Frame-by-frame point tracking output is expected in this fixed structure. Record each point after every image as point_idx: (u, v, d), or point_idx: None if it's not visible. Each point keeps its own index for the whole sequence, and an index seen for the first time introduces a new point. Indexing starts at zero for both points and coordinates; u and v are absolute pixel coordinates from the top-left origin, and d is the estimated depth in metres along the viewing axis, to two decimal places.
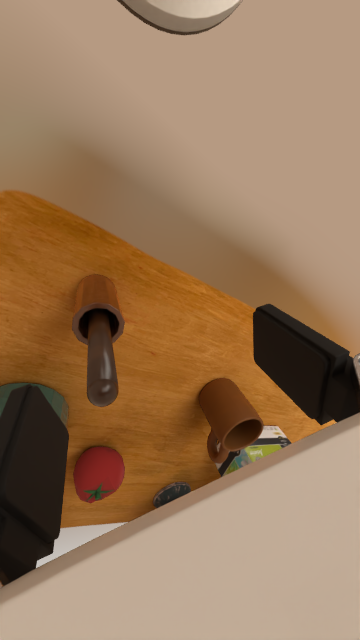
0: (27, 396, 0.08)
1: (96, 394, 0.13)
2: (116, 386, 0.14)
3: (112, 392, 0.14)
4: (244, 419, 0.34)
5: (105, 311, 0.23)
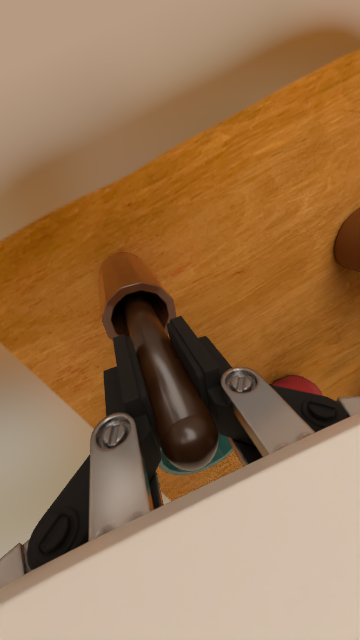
0: (128, 341, 0.10)
1: (179, 461, 0.07)
2: (199, 421, 0.07)
3: (200, 440, 0.06)
4: None
5: (134, 294, 0.15)
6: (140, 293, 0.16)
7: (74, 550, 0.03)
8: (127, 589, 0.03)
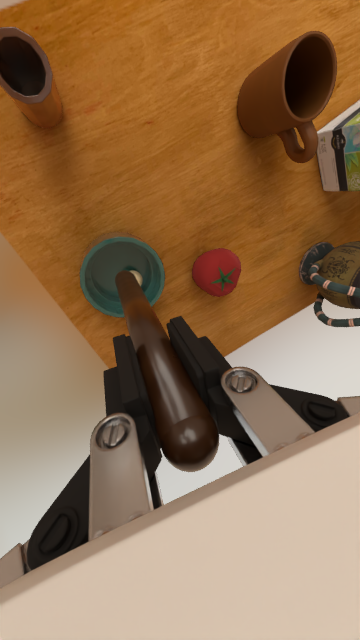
0: (128, 341, 0.10)
1: (180, 462, 0.07)
2: (199, 422, 0.07)
3: (200, 441, 0.06)
4: (290, 51, 0.24)
5: (134, 294, 0.15)
6: (140, 293, 0.16)
7: (74, 550, 0.03)
8: (127, 589, 0.03)
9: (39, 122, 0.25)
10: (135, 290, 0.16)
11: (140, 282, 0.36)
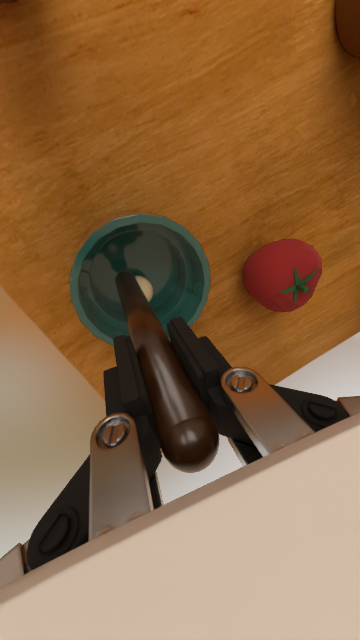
0: (128, 341, 0.10)
1: (180, 462, 0.07)
2: (203, 423, 0.07)
3: (203, 442, 0.06)
4: None
5: (136, 295, 0.15)
6: (142, 294, 0.16)
7: (74, 550, 0.03)
8: (127, 589, 0.03)
9: None
10: (137, 291, 0.16)
11: None
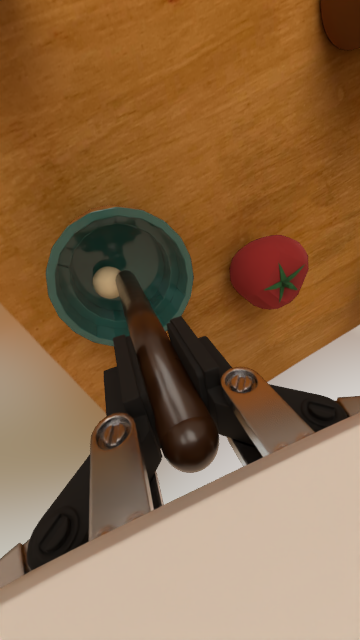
0: (128, 341, 0.10)
1: (180, 462, 0.07)
2: (202, 423, 0.07)
3: (202, 442, 0.06)
4: None
5: (136, 294, 0.15)
6: (142, 294, 0.16)
7: (74, 550, 0.03)
8: (127, 589, 0.03)
9: None
10: (137, 290, 0.16)
11: (97, 278, 0.21)
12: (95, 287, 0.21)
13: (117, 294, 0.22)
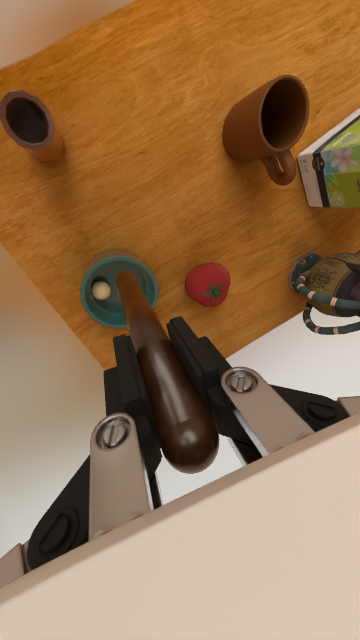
0: (128, 341, 0.10)
1: (180, 463, 0.07)
2: (202, 424, 0.07)
3: (203, 443, 0.07)
4: (264, 93, 0.27)
5: (136, 295, 0.15)
6: (142, 295, 0.16)
7: (74, 550, 0.03)
8: (127, 589, 0.03)
9: (43, 159, 0.28)
10: (137, 291, 0.16)
11: None
12: None
13: (95, 295, 0.37)
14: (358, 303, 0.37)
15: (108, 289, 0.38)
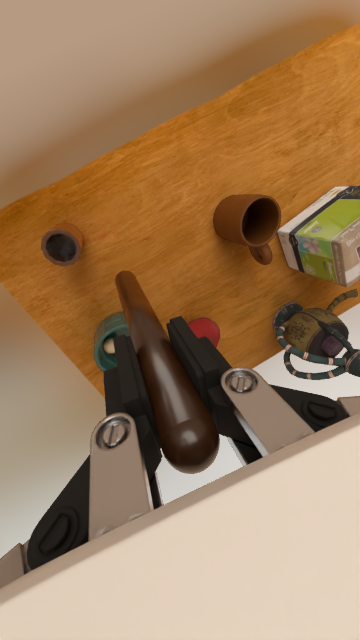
0: (128, 341, 0.10)
1: (180, 463, 0.07)
2: (203, 424, 0.07)
3: (203, 442, 0.06)
4: (244, 210, 0.34)
5: (136, 295, 0.15)
6: (142, 294, 0.16)
7: (74, 550, 0.03)
8: (127, 589, 0.03)
9: None
10: (137, 291, 0.16)
11: None
12: None
13: (108, 351, 0.44)
14: (325, 359, 0.44)
15: None
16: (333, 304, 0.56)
